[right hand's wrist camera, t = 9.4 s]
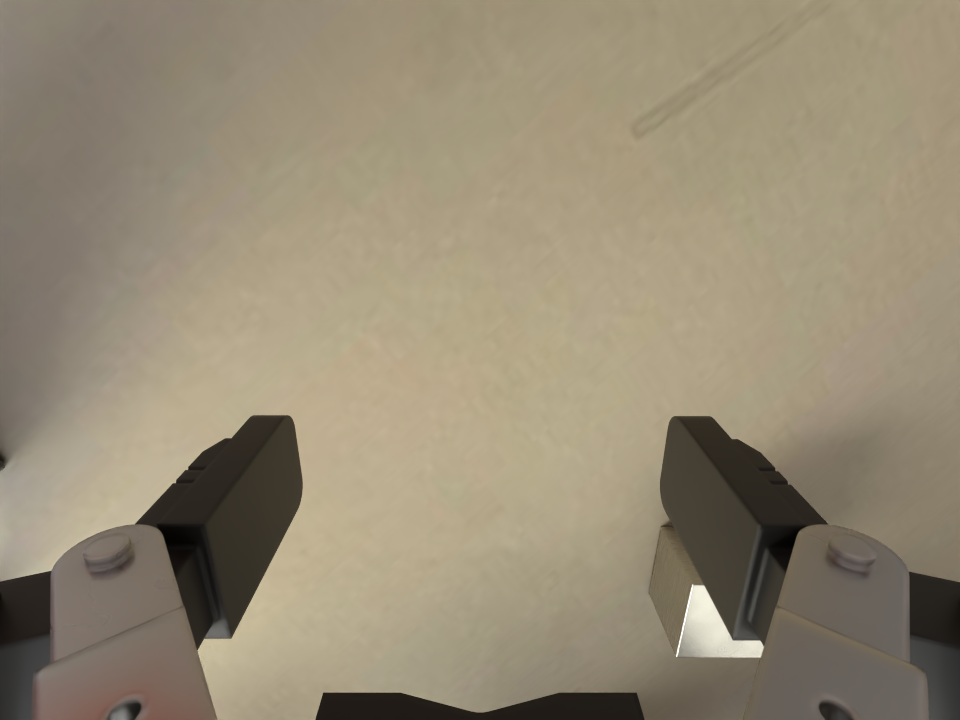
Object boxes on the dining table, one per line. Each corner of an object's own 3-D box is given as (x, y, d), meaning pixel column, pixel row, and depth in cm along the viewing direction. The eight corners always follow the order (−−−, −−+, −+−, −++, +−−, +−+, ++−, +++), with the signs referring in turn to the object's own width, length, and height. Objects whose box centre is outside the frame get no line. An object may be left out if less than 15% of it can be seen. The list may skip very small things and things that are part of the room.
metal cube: (742, 527, 31) (787, 585, 27) (725, 593, 33) (764, 658, 29) (660, 525, 31) (692, 584, 27) (648, 592, 33) (676, 658, 29)
